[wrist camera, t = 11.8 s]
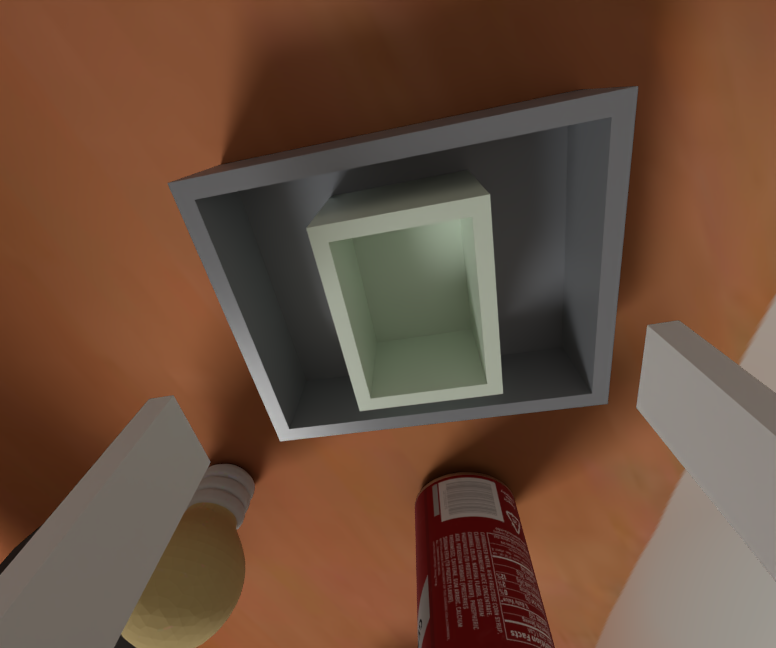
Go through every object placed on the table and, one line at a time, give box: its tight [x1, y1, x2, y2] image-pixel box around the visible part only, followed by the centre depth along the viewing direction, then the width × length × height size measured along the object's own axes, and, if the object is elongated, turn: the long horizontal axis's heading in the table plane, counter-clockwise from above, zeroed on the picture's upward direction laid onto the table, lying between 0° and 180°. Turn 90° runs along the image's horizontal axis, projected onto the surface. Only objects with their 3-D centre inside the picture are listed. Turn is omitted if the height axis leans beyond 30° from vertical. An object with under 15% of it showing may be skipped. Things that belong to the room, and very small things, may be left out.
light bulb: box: [121, 464, 255, 648], centre depth 24 cm, size 6×6×10 cm
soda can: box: [415, 472, 555, 648], centre depth 23 cm, size 7×7×12 cm
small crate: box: [306, 170, 503, 411], centre depth 17 cm, size 6×8×5 cm
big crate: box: [168, 86, 638, 441], centre depth 18 cm, size 15×12×4 cm
